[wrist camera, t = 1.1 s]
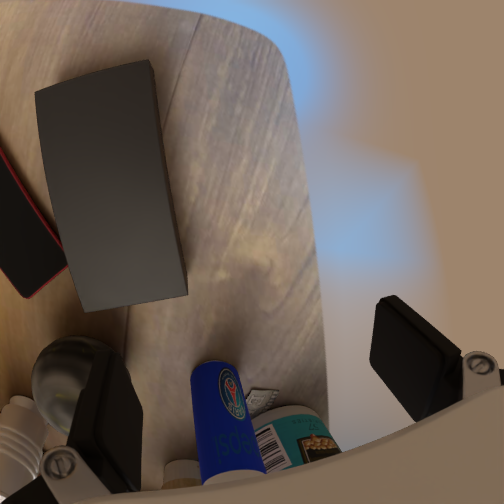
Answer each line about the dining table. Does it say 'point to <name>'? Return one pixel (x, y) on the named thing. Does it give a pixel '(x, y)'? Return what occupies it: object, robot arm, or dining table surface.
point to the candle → (20, 444)
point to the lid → (111, 187)
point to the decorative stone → (63, 378)
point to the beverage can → (223, 425)
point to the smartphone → (25, 237)
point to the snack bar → (260, 402)
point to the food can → (292, 438)
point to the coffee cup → (181, 474)
